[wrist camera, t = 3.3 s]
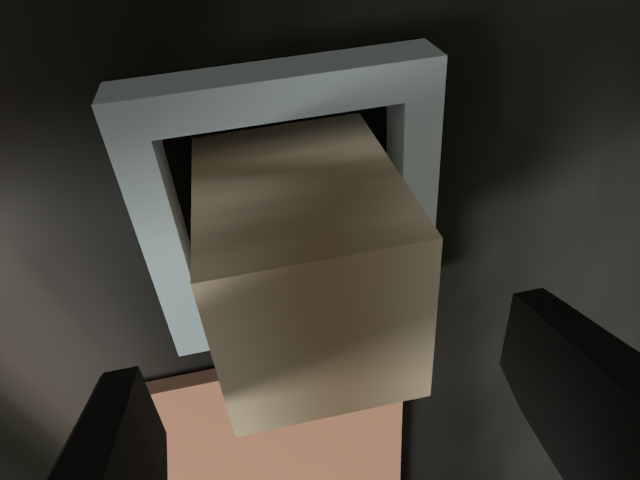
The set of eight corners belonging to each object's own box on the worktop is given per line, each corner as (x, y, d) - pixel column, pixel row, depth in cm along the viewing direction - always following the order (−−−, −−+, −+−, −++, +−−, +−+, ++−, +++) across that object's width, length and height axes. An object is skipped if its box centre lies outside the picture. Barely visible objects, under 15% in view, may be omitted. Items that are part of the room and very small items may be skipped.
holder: (180, 321, 17) (178, 356, 16) (101, 82, 12) (91, 105, 11) (414, 277, 18) (430, 307, 17) (424, 38, 13) (447, 55, 12)
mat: (171, 538, 25) (171, 551, 24) (95, 392, 18) (92, 406, 18) (395, 486, 26) (399, 497, 25) (399, 331, 19) (404, 342, 19)
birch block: (223, 269, 16) (235, 437, 12) (191, 137, 14) (190, 284, 9) (363, 244, 17) (429, 395, 12) (359, 112, 14) (442, 238, 9)
